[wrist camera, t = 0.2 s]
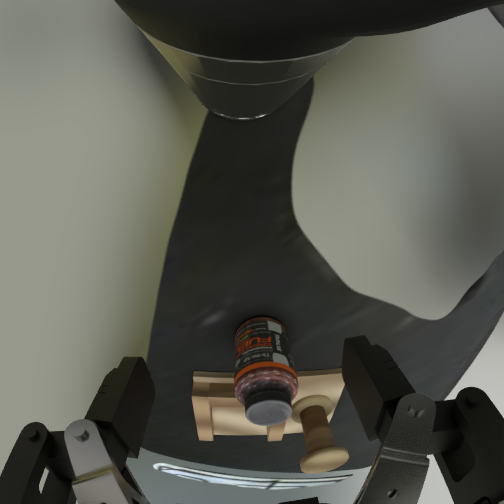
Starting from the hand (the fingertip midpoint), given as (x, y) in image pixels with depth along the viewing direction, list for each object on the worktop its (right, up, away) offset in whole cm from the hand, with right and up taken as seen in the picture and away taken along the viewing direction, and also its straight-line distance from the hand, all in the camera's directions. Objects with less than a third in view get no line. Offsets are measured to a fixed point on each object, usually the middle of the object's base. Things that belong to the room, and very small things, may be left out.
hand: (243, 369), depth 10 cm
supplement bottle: (+1, -5, +21) cm, 22 cm away
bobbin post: (+9, -17, +26) cm, 32 cm away
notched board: (+3, -17, +25) cm, 31 cm away
